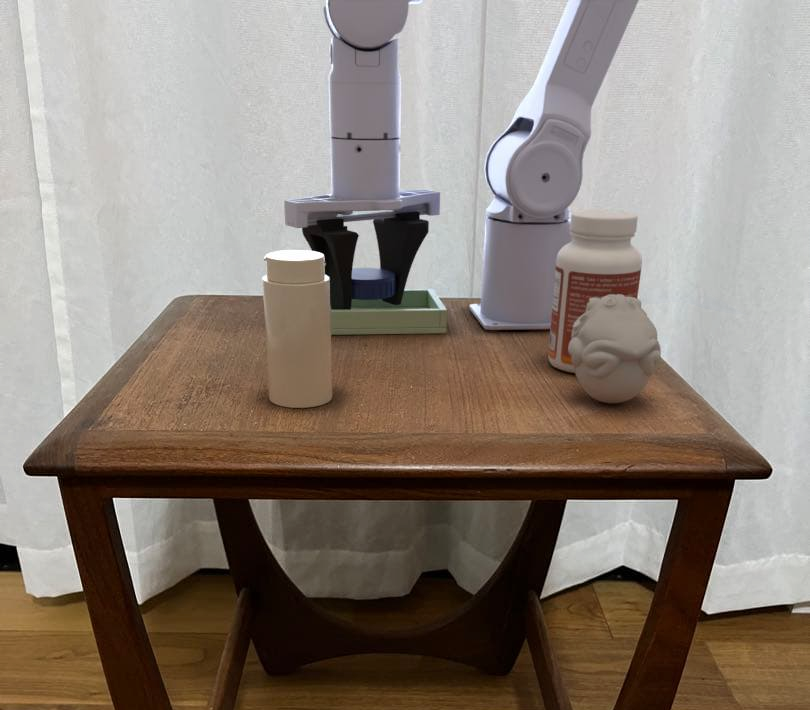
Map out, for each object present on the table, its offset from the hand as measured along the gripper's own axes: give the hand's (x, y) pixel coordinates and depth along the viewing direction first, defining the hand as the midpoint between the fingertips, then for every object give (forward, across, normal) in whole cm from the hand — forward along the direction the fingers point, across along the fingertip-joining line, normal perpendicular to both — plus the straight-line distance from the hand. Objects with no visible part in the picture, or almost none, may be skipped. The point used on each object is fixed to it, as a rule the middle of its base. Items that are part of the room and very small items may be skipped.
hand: (366, 306), depth 77 cm
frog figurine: (+2, +2, -26) cm, 27 cm away
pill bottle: (+2, +7, -20) cm, 21 cm away
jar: (+1, -15, -14) cm, 21 cm away
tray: (+1, 0, 0) cm, 1 cm away
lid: (-2, 0, 0) cm, 2 cm away
